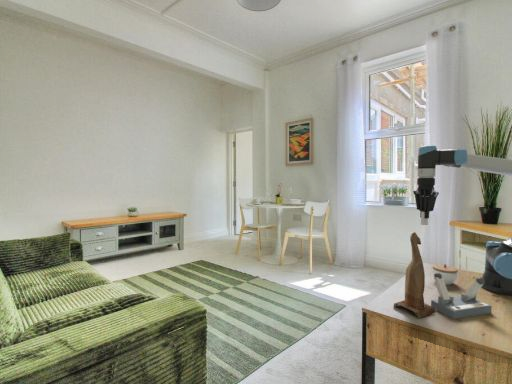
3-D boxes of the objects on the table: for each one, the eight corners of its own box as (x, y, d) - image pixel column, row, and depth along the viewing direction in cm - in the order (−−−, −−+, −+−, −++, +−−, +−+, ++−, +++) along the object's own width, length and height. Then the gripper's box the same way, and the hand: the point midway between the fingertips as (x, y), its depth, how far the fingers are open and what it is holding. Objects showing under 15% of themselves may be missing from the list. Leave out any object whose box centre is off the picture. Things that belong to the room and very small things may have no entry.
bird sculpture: (436, 313, 110) (440, 233, 109) (419, 319, 104) (423, 235, 103) (408, 302, 120) (412, 229, 119) (392, 307, 114) (395, 230, 113)
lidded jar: (461, 287, 136) (462, 268, 135) (437, 285, 138) (438, 267, 137) (450, 279, 146) (451, 262, 146) (428, 277, 148) (429, 260, 148)
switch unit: (431, 307, 115) (431, 293, 114) (466, 302, 119) (466, 289, 119) (453, 319, 105) (454, 304, 105) (491, 313, 110) (491, 299, 110)
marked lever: (461, 296, 116) (475, 276, 111) (468, 295, 117) (482, 275, 111) (467, 301, 114) (481, 281, 108) (474, 300, 115) (488, 280, 109)
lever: (440, 302, 112) (430, 273, 117) (447, 301, 113) (437, 272, 118) (445, 302, 110) (436, 272, 114) (452, 301, 111) (443, 272, 115)
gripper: (409, 177, 142) (407, 222, 143) (431, 177, 129) (429, 227, 130) (421, 177, 144) (419, 222, 145) (444, 177, 131) (442, 226, 132)
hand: (424, 224), depth 138 cm, fingers closed
